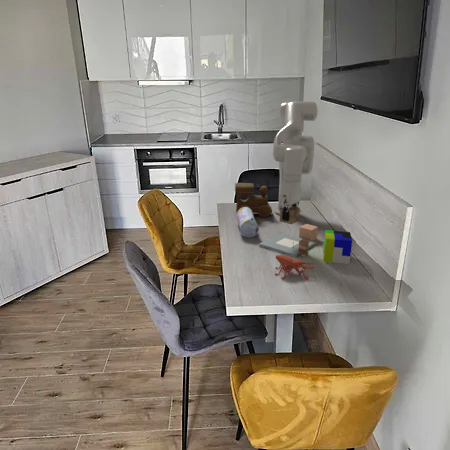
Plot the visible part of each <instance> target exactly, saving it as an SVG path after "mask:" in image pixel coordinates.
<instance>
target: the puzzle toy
mask: <svg viewBox="0 0 450 450" xmlns="http://www.w3.org/2000/svg"><path fill="white" fill-rule="evenodd" d="M352 246H353V238H352V235H351V231H339V230H328V229H326V230H325V232H324V241H323V249H322V255H323V262H326V263H333V264H334V263H336V264H345V265H346V264H347V265H349V264H350V262H351V261H350V260H351V254H352Z"/></svg>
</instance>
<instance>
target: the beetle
mask: <svg viewBox="0 0 450 450" xmlns="http://www.w3.org/2000/svg"><path fill="white" fill-rule="evenodd" d="M293 249H294V246H293ZM293 251H294V250H293ZM275 259H276V260H277V262H278V263H279V264H280V265H279V267H278V266H276V267H275V269H276V270H279V272H278V273H274V275H275V276H280V274H281V272H282V271H283V272H284V276H282V277H280V279H281V280H284V279H286V275H287V274H290V273H291V272H292V271H293V270H295V272H297V274H301V273H302V276H303V279H305V278H306V279H307V280H308V279H309V277H308V276H307V277H306V276H305V275H306V274H305V271H304V270H311V269H312V270H313V269H316V266H315V263H312V262H311V263H309V262H304V261H302V260H300V259H296V258H292V256H289V255H286V254H278V255H277V254H276V255H275ZM306 265H314V266H306ZM300 269H301V270H300ZM303 269H304V270H303Z"/></svg>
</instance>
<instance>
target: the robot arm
mask: <svg viewBox="0 0 450 450" xmlns="http://www.w3.org/2000/svg"><path fill="white" fill-rule="evenodd" d="M318 110H319V109H318V105H317V103H316V102H314V101H300V100H298V101H290V102H289V101H287V102H282V103H281V104H280V106H279V115H280V119H281V121H282V124H283V128H281V129H280V130H279V131H278V132H277V134H276V135H275V137H274V140H273V148H272V155H273V156H272V157H273V160H274V161H276V162H278V167H279V184H278V185H279V186H278V187H279V188H278V203H277V204H278V205H277V208H276V209H275V210H274V212H275V214H276V215H278V216H280V208H281V209H282V220H285V221H289V212H288V211H289V208H290V206H294V207H298V208H299V205H300V201H301V199H302V197H301V196H302V195H301V192H302V185H301V182H302V175H309V174H311V173H312V170H313V165H314V156H315V155H314V154H315V140H314V137H313V136H311V135H306V134H304V135H303V134H302V133H303V132H304V129H305V124H304V123H305V121H312V122H313V121H316V119H317V117H318V114H319V113H318V112H319V111H318ZM285 206H287V208H286V207H285Z"/></svg>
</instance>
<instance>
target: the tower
mask: <svg viewBox="0 0 450 450" xmlns="http://www.w3.org/2000/svg"><path fill="white" fill-rule="evenodd" d="M308 248H309V241H308V240H304V239H302V240H300V241H299V249H298V252H299V254H300V255H299V256H302V255H303V257H305V255H306V256H307V255H308V254H309V249H310V248H309V249H308Z"/></svg>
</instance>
